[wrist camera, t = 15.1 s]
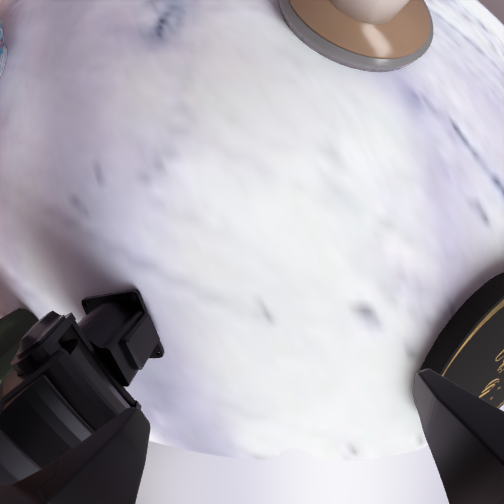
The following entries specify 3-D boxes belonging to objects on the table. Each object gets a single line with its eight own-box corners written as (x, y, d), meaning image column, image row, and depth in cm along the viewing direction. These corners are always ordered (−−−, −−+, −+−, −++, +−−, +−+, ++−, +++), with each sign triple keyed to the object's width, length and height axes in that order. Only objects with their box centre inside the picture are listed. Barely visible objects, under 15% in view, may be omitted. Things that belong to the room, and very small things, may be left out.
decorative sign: (490, 440, 23) (368, 461, 23) (483, 427, 26) (363, 441, 26) (588, 270, 14) (511, 206, 14) (574, 262, 17) (487, 199, 17)
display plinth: (303, 78, 16) (306, 69, 14) (261, -36, 13) (260, -49, 11) (443, 73, 14) (456, 67, 12) (392, -35, 11) (399, -45, 9)
